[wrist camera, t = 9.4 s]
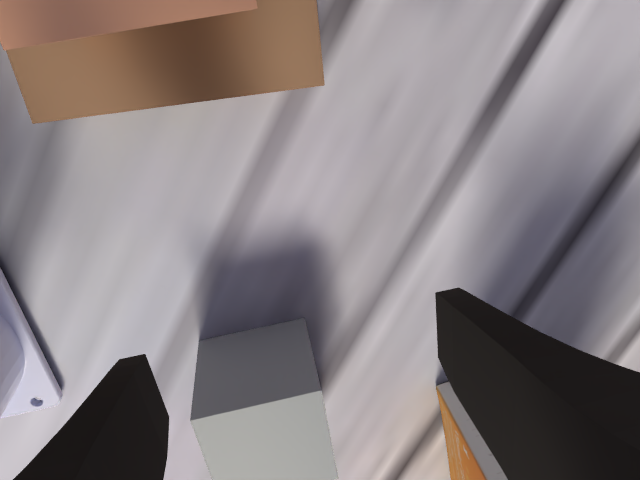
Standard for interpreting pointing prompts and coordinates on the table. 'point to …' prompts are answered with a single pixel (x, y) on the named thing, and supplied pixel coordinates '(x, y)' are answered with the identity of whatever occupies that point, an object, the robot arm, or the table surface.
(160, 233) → the table surface
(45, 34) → the terracotta block
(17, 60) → the tan square block
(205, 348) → the slate grey block
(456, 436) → the small box
